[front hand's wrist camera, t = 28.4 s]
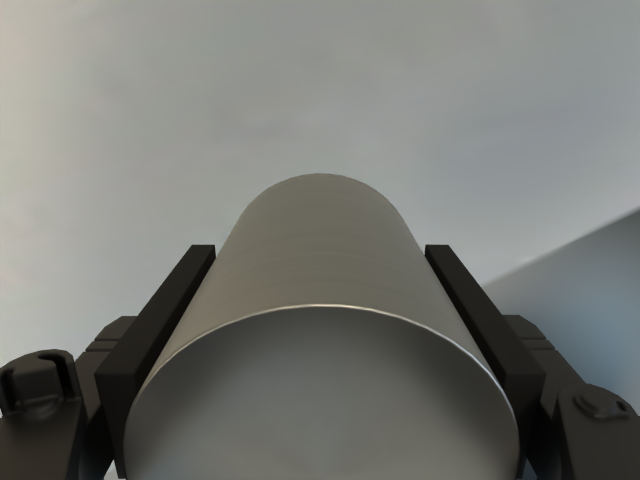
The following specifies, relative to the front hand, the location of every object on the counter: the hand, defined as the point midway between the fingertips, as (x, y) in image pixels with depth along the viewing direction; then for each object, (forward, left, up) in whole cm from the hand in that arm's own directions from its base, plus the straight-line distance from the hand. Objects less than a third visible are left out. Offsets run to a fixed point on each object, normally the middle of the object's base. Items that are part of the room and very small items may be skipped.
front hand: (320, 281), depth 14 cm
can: (0, 0, -2) cm, 2 cm away
